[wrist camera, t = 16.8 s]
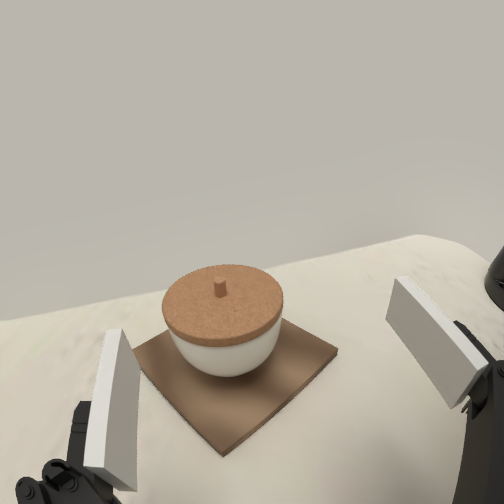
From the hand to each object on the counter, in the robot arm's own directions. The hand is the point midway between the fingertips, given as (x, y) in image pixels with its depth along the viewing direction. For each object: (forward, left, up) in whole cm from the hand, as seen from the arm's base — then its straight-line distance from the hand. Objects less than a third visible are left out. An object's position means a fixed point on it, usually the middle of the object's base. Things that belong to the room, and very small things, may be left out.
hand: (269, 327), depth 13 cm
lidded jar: (-5, -10, -14) cm, 18 cm away
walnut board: (-5, -11, -15) cm, 19 cm away
